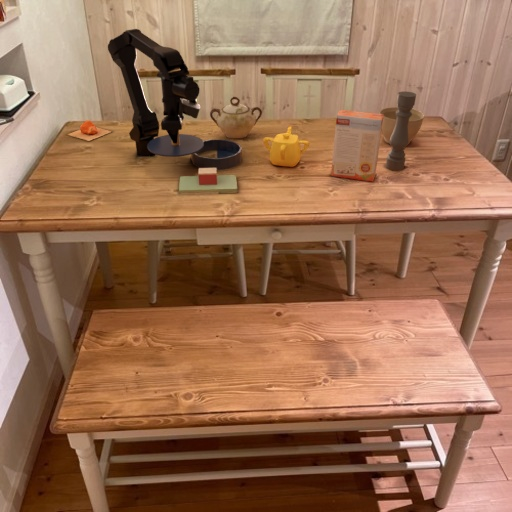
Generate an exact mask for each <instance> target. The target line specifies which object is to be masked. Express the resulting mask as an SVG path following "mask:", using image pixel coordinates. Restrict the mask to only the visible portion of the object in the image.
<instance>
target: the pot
mask: <svg viewBox="0 0 512 512" xmlns="http://www.w3.org/2000/svg"><path fill="white" fill-rule="evenodd" d="M203 142H204V147H203V148H202V149H201V150H200V151H198V152H196V153H194V154H191V155H190V159H191V160H190V161H191V163H192V164H193V165H194V166H196V167H198V168H217V171H223V170H229V169H232V168H235V167H237V166H239V165H240V164H241V163H242V160H243V156H242V155H243V154H242V153H243V149H242V146H241V145H240V143H237V142H235V141H233V140H229V139H220V138H218V139H217V138H215V139H214V138H212V139H205V140H203ZM212 151H216V157H207V156H202V155H200V154H203V153H206V152H212Z"/></svg>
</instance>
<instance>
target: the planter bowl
mask: <svg viewBox="0 0 512 512" xmlns="http://www.w3.org/2000/svg"><path fill="white" fill-rule="evenodd" d="M396 111H398V107H397V106H390V107H385V108H382V109H381V110H380V111H379V114H383V115H384V117H383V124H382V132H381V135H382V136H383V138H384V142H386V143H387V144H389V145H390V138H391V135H392V133H393V131H394V128H395V126H396V121H397V115H396ZM410 112H411V113H412V116H411V117H410V118H409V122H408V140H409V142H408V145H409V144H411V141H412V140H413V139H414V138H415V137H416V136H417V135H418V133H419V131H420V129H421V127H422V125H423V120H424V119H425V114H424V113H423V111H420V110H418V109H415V108H412V109H411V111H410Z"/></svg>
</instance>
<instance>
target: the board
mask: <svg viewBox="0 0 512 512" xmlns="http://www.w3.org/2000/svg"><path fill="white" fill-rule="evenodd" d="M237 182H238V181H237V175H236V174H217V185H199V175H181V176H179V184H178V193H179V194H191V193H192V194H195V193H196V194H197V193H218V194H238V183H237Z"/></svg>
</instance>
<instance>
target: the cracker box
mask: <svg viewBox="0 0 512 512" xmlns="http://www.w3.org/2000/svg"><path fill="white" fill-rule="evenodd" d="M383 117H384V115H383V114H380V113H374V112H362V111H354V110H344V109H340V110H339V111H338V113H337V114H336V119H335V127H334V139H333V150H332V160H331V161H332V162H331V171H330V172H331V173H330V176H331V177H335V178H344V179H351V180H358V181H364V182H371V183H372V182H374V180H375V177H376V174H377V166H378V159H379V153H380V145H381V137H382V124H383Z"/></svg>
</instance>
